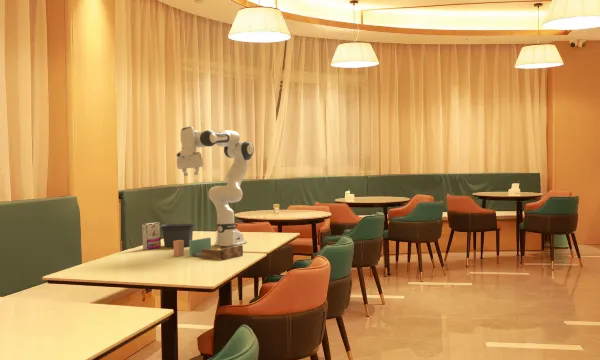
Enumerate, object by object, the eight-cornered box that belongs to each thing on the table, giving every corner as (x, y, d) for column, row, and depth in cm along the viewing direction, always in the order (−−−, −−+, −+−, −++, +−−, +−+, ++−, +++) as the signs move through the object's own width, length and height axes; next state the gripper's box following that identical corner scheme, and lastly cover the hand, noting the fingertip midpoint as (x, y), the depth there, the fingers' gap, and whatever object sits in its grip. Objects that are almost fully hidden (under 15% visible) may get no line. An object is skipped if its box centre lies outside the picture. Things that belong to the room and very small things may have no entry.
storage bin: (159, 247, 422) (158, 225, 422) (166, 244, 437) (165, 223, 437) (191, 247, 420) (190, 225, 419) (197, 244, 435) (196, 222, 435)
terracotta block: (179, 254, 387) (178, 239, 387) (184, 255, 385) (183, 240, 385) (173, 256, 384) (173, 240, 383) (178, 256, 381) (178, 241, 381)
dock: (222, 253, 389) (221, 243, 389) (242, 255, 380) (242, 245, 380) (201, 257, 374) (201, 247, 374) (222, 259, 365) (222, 249, 365)
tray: (209, 252, 394) (208, 237, 394) (229, 254, 385) (229, 239, 385) (189, 256, 380) (189, 240, 380) (210, 258, 371) (210, 242, 371)
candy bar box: (156, 247, 423) (155, 222, 423) (161, 247, 420) (160, 222, 420) (142, 249, 414) (141, 223, 414) (147, 250, 411) (146, 224, 411)
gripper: (204, 151, 396) (206, 174, 396) (182, 154, 409) (183, 176, 409) (196, 151, 391) (198, 174, 391) (174, 154, 404) (176, 176, 404)
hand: (191, 175), depth 400 cm, fingers open, 8 cm apart
